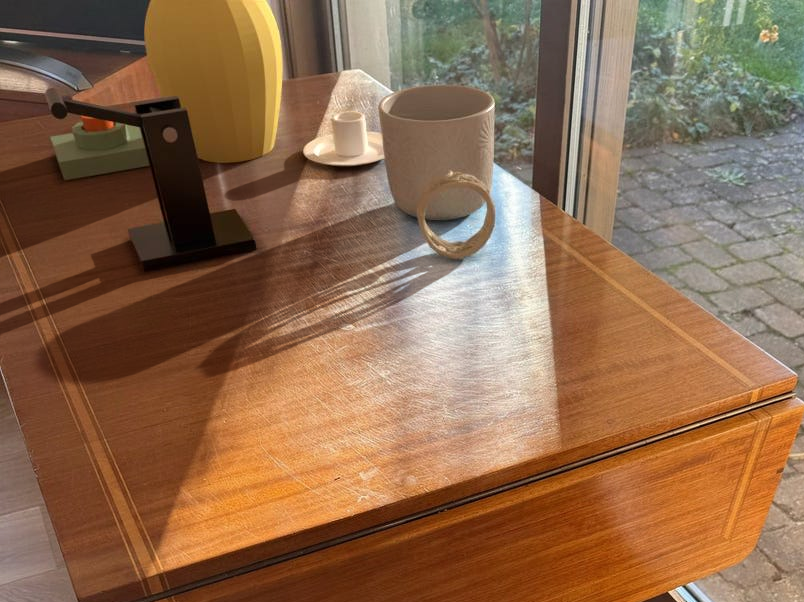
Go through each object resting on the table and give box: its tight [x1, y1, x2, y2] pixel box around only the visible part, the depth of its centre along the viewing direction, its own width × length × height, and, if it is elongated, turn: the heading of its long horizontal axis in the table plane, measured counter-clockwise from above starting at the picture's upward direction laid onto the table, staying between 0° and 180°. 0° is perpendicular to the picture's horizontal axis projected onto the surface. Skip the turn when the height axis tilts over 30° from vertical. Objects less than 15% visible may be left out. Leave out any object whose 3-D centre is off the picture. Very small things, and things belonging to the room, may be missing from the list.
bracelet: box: [416, 171, 496, 260], centre depth 100 cm, size 4×8×8 cm, turn 96°
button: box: [80, 115, 114, 132], centre depth 122 cm, size 4×4×2 cm
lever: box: [44, 87, 165, 128], centre depth 96 cm, size 12×5×2 cm, turn 113°
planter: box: [377, 84, 496, 221], centre depth 108 cm, size 12×12×11 cm
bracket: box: [126, 96, 258, 273], centre depth 102 cm, size 12×9×14 cm
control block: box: [49, 121, 150, 181], centre depth 124 cm, size 12×10×4 cm
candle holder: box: [302, 110, 385, 167], centre depth 123 cm, size 12×12×4 cm
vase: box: [143, 0, 283, 164], centre depth 117 cm, size 16×16×28 cm
